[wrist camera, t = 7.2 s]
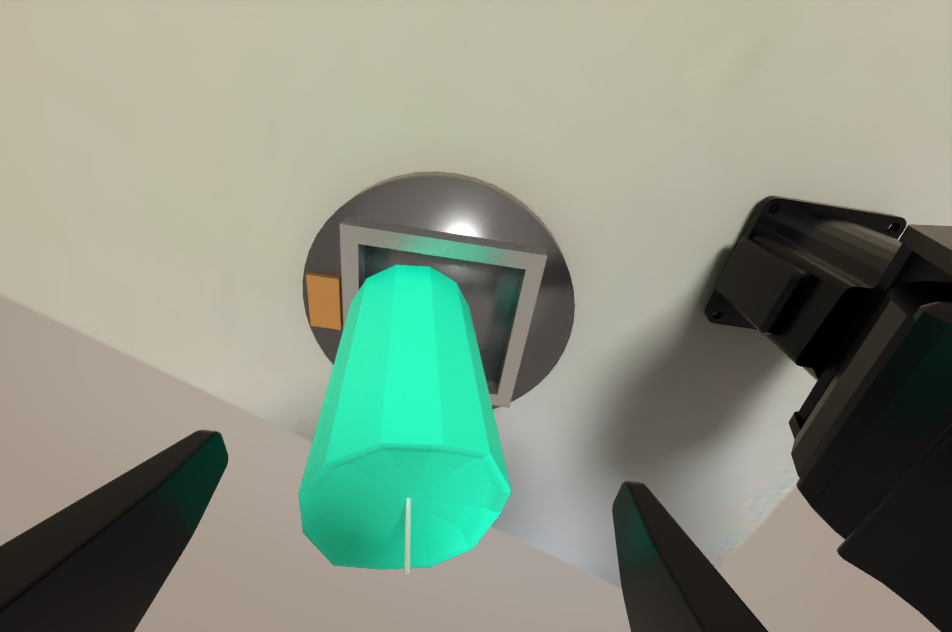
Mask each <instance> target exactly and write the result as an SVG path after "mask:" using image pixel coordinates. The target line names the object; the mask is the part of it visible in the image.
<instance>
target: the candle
mask: <svg viewBox="0 0 952 632" xmlns="http://www.w3.org/2000/svg"><path fill="white" fill-rule="evenodd" d="M511 492H512V491H511V487H510V482H509V478H508V474H507V469H506V465H505V461H504V456H503V452H502V448H501V443H500V439H499V435H498V430H497V426H496V422H495V417H494V413H493V409H492V404H491V400H490V396H489V391H488V387H487V383H486V378H485V374H484V370H483V365H482V361H481V357H480V352H479V348H478V344H477V339H476V335H475V331H474V326H473V322H472V318H471V313H470V309H469V306H468V304H467V302H466V300H465V298H464V296H463V294H462V292H461V290H460V288H459V287H458V285H457V283H456V282H455V281H453V280H451V279H450V278H448V277H446V276H445V275H443V274H441V273H440V272H438V271H436V270H435V269H433V268H431V267H428V266H411V265H395V266H392V267H390V268H388V269H386V270H384V271H381V272H379V273H377V274H375V275H373V276H370V277H368V278H367V279H366V280H365V282H364V283H363V285H362V286H361V288H360V289H359V291H358V292H357V294H356V295H355V297H354V298H353V300H352V301H351V304H350V307H349V311H348V315H347V318H346V322H345V326H344V329H343V333H342V337H341V340H340V344H339V347H338V351H337V355H336V358H335V362H334V366H333V369H332V373H331V377H330V380H329V384H328V388H327V391H326V395H325V399H324V402H323V406H322V410H321V413H320V417H319V421H318V424H317V428H316V432H315V435H314V439H313V443H312V446H311V450H310V454H309V457H308V461H307V465H306V468H305V472H304V475H303V479H302V483H301V487H300V490H299V502H300V511H301V518H302V527H303V533H304V534H305V535H306V536H307V537H308V538H309V540H311V542H312V543H313V544H314V545H315V546H316V547H317V548H318V549H319V550H320V551H321V552H322V554H323V555H324V556H325V557H326V558H327V559H328V560H329V561H330V562H331V563H332V564H333V565H335V566H346V567H358V568H370V569H402V568H403V569H405V574H409V573H410V568H429V567H432V566H434V565H437V564H439V563H441V562H444V561H446V560H448V559H451V558H453V557H455V556H458V555H460V554H462V553H465V552H467V551H469V550H472V549H473V548H474V547H475V546H476V545H477V543H478V542H479V541H480V539H481V538H482V537H483V535H484V534H485V533H486V532H487V530H488V529H489V528H490V526H491V525H492V524H493V523H494V521H495V520H496V519H497V517H498V516H499V515H500V514H501V512H502V510H503V508H504V506H505V504H506V502H507V500H508V498H509V496H510V494H511Z"/></svg>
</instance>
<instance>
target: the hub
mask: <svg viewBox="0 0 952 632" xmlns="http://www.w3.org/2000/svg"><path fill="white" fill-rule="evenodd" d="M395 265H411V266H428V267H431V268H433V269H435V270H436V271H438V272H440V273H441V274H443V275H445V276H446V277H448V278H450V279H451V280H453V281H455V282H456V283H457V285H458V287H459V288H460V290H461V292H462V294H463V296H464V298H465V300H466V302H467V304H468V306H469V309H470V313H471V318H472V322H473V326H474V331H475V335H476V339H477V344H478V348H479V352H480V357H481V361H482V365H483V370H484V374H485V378H486V383H487V387H488V391H489V396H490V400H491V404H492V409H494V408H497V407H500V406H501V407H508V408H509V406H510V402H512V401H514V400H516V399H517V398H519V397H521V396H522V395H524V394H526V393H527V392H529V391H530V390H531V389H533V388H534V387H535V386H537V385H538V384H539V383H540V382H541V381H542V380H543V379H544V378H545V377H546V376H547V375H548V374H549V373H550V371H551V370H552V369H553V368H554V366H555V365H556V364H557V362H558V360H559V359H560V357H561V355H562V354H563V352H564V350H565V347H566V345H567V343H568V340H569V338H570V334H571V330H572V326H573V321H574V309H575V304H574V290H573V285H572V281H571V277H570V273H569V270H568V268H567V265H566V262H565V260H564V257H563V255H562V252H561V249H560V247H559V246H558V244H557V242H556V240H555V239H554V237H553V235H552V233H551V232H550V231H549V229H548V228H547V227H546V226H545V224H544V223H543V222H542V220H541V219H540V218H539V217H538V216H537V215H536V214H535V213H534V212H533V211H532V210H531V209H530V208H528V207H527V206H526V205H525V204H524V203H522V202H521V201H519V200H518V199H517V198H515V197H514V196H513V195H511V194H509V193H508V192H506V191H504V190H502V189H500V188H498V187H496V186H495V185H492V184H490V183H487V182H484V181H482V180H479V179H476V178H473V177H468V176H464V175H460V174H455V173H444V172H419V173H411V174H406V175H401V176H396V177H393V178H390V179H387V180H384V181H382V182H379V183H377V184H375V185H373V186H371V187H369V188H367V189H365V190H363V191H362V192H360V193H359V194H358V195H356V196H355V197H354V198H352V199H351V200H349V201H348V202H347V203H346V204H344V205H343V206H342V207H340V208H339V209H338V210H337V211H336V212H335V213H334V214H333V215H332V216H331V217H330V218H329V219H328V220H327V221H326V223H325V224H324V226H323V227H322V229H321V230H320V231H319V233H318V234H317V236H316V238H315V240H314V242H313V244H312V246H311V248H310V250H309V254H308V257H307V260H306V264H305V268H304V276H303V300H304V305H305V311H306V315H307V318H308V321H309V325H310V327H311V330H312V332H313V334H314V336H315V338H316V340H317V342H318V344H319V345H320V347H321V348H322V350H323V352H324V353H325V355H326V356H327V357H328V358H329V360H330V361H331V362H332V363H333V365H334V362H335V358H336V355H337V351H338V347H339V344H340V340H341V337H342V333H343V329H344V326H345V322H346V318H347V315H348V311H349V307H350V304H351V301H352V300H353V298H354V297H355V295H356V294H357V292H358V291H359V289H360V288H361V286H362V285H363V283H364V282H365V280H366V279H367V278H368V277H370V276H373V275H375V274H377V273H379V272H381V271H384V270H386V269H388V268H390V267H392V266H395Z"/></svg>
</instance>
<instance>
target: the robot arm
mask: <svg viewBox="0 0 952 632" xmlns="http://www.w3.org/2000/svg"><path fill="white" fill-rule="evenodd" d="M773 204H775V208H774V209H773V210H772V211H771V212H768V209H769V207H770V206H771V205H773ZM891 224H892V226H891V227H890V228H889V229H888V230H887V228H888V227H889V226H890V225H891ZM905 227H906V220H905V219H903V218H901V217H898V216H895V215H891V214H885V213H879V212H872V211H866V210H860V209H854V208H848V207H841V206H835V205H829V204H823V203H817V202H810V201H804V200H798V199H792V198H786V197H779V196H769V197H766V198H765V199H763V200H762V201H761V202H760V204H759V205H758V207H757V209H756V211H755V213H754V215H753V217H752V219H751V220H750V222H749V224H748V226H747V228H746V230H745V232H744V234H743V236H742V238H741V240H740V241H739V242H738V243H737V245H736V247H735V249H734V251H733V253H732V255H731V257H730V259H729V260H728V262H727V264H726V266H725V268H724V270H723V272H722V274H721V276H720V278H719V280H718V282H717V284H716V289H715V291H714V293H713V295H712V297H711V299H710V301H709V302H708V304H707V306H706V308H705V311H704V315H705V317H706V318H707V319H708V320H709V321H710V322H712V323H717V324H724V325H730V326H737V327H744V328H750V329H757V330H758V331H759V332H761V333H763V334H765V335H766V336H767V337H768V338H769V339H770V340H771V341H772V342H773V343H774V344H775V345H776V346H777V347H778V348H780V349H781V350H782V351H783V352H784V353H785V354H786V355H787V356H788V357H789V358H790V359H791V360H792V361H793V362H794V363H795V364H796V365H798V366H802V367H803V368H804V369H805V370H806V371H807V372H808V373H809V374H810V375H811V376H813V377H814V378H815V379H816V380H817V383H816V384H815V386H814V387H813V389H812V391H811V392H810V394H809V396H808V397H807V399H806V400H805V402H804V404H803V405H802V407H801V409H800V410H799V412H795V413H794V414H793V416H792V417H791V419H790V421H789V425H790V428H791V431H792V433H793V436H794V439H795V441H794V445H793V448H792V452H791V455H792V458H793V461H794V464H795V468H796V471H797V474H798V476H799V478H800V479H799V480H798V482H797V484H796V485H797V488H798V489H799V491H800V492H801V493H802V495H803V496H804V497H805V499H806V500H807V502H808V503H809V504H810V506H811V507H812V508H813V509H814V510H815V512H816V513H817V514H818V515H819V516H820V517H821V518H822V519H823V520H824V521H825V522H826V523H827V524H828V525H829V526H830V527H831V528H832V529H833V530H834V531H835V532H836V533H838V534H839V535H840V536H841V537H843V538H844V539H845V541H844V542H843V543H842V544H841V545H840V546H839V548H838V549H837V552H838V554H839V555H840V556H841V557H842V558H843V559H845V560H846V561H848V562H849V563H851V564H853V565H854V566H856V567H858V568H859V569H861V570H862V571H864V572H865V573H867V574H869V575H871V576H872V577H874V578H875V579H877V580H879V581H880V582H882V583H883V584H884V585H886V586H887V587H888V588H890V589H891V590H892V591H893V592H895V593H896V594H897V595H899V596H900V597H901V598H903V599H904V600H905V601H906V602H908V603H909V604H910V605H911V606H913V607H914V608H915V609H916V610H918V611H919V612H920V613H921V614H922V615H924V616H925V617H926V618H927V619H928V620H929V621H930V622H931V623H932V624H933V625H934V626H935V627H936V628H938V629H939V630H940V631H941V632H952V226H933V225H908V227H907V228H906V230H905V231H904V229H905ZM903 231H904V233H903V235H902V236H901V238H900V240H897V239H898V238H899V236H900V235H901V233H902V232H903ZM716 311H719V312H718V313H717V314H716V315H713V313H714V312H716ZM227 463H228V453H227V450H226V447H225V444H224V440H223V437H222V435H221V433H219V432H217V431H210V430H199V431H196V432H194V433H192V434H191V435H189V436H187V437H186V438H184V439H182V440H181V441H179V442H177V443H176V444H174V445H172V446H170V447H169V448H167V449H165V450H163V451H162V452H160V453H158V454H157V455H155V456H153V457H152V458H150V459H148V460H146V461H145V462H143V463H141V464H140V465H138V466H136V467H135V468H133V469H131V470H130V471H128V472H126V473H124V474H123V475H121V476H119V477H117V478H116V479H114V480H112V481H110V482H109V483H107V484H106V485H104V486H102V487H100V488H99V489H97V490H95V491H94V492H92V493H90V494H88V495H87V496H85V497H84V498H81V499H80V500H78V501H76V502H75V503H73V504H71V505H70V506H68V507H66V508H64V509H63V510H61V511H59V512H58V513H56V514H54V515H53V516H51V517H49V518H47V519H46V520H44V521H42V522H41V523H39V524H37V525H35V526H34V527H32V528H31V529H29V530H27V531H25V532H23V533H22V534H20V535H18V536H17V537H15V538H13V539H12V540H10V541H8V542H6V543H5V544H3V545H2V546H0V632H134V631H135V629H136V627H137V626H138V624H139V623H140V621H141V619H142V618H143V616H144V615H145V613H146V611H147V610H148V608H149V606H150V605H151V603H152V602H153V600H154V598H155V597H156V595H157V593H158V592H159V590H160V588H161V587H162V585H163V584H164V582H165V580H166V578H167V577H168V575H169V574H170V572H171V570H172V568H173V567H174V565H175V564H176V562H177V561H178V559H179V557H180V556H181V554H182V552H183V551H184V549H185V548H186V546H187V544H188V542H189V541H190V539H191V537H192V535H193V534H194V532H195V530H196V528H197V526H198V524H199V522H200V520H201V518H202V516H203V514H204V512H205V510H206V508H207V506H208V503H209V502H210V499H211V497H212V495H213V493H214V491H215V489H216V487H217V485H218V483H219V481H220V478H221V477H222V475H223V473H224V471H225V469H226V467H227ZM612 513H613V522H614V530H615V538H616V547H617V555H618V563H619V572H620V579H621V586H622V591H623V596H624V601H625V606H626V610H627V615H628V619H629V624H630V628H631V632H768V631H767V630H766V628H765V627H764V626H763V625H762V624H761V622H760V621H759V620H758V619H757V618H756V617H755V615H754V614H753V613H752V612H751V611H750V609H749V608H748V607H747V606H746V605H745V603H744V602H743V601H742V600H741V599H740V597H738V595H737V594H736V593H735V591H734V590H733V589H732V588H731V587H730V586H729V584H728V583H727V582H726V581H725V579H724V578H723V577H722V576H721V575H720V574H719V572H718V571H717V570H716V569H715V568H714V566H713V565H712V564H711V563H710V562H709V560H708V559H707V558H706V557H705V556H704V554H703V553H702V552H701V551H700V550H699V548H698V547H697V546H696V545H695V544H694V543H693V541H692V540H691V539H690V538H689V537H688V535H687V534H686V533H685V532H684V531H683V529H682V528H681V527H680V526H679V525H678V523H677V522H676V521H675V520H674V519H673V517H672V516H671V515H670V514H669V513H668V512H667V510H666V509H665V508H664V507H663V506H662V504H661V503H660V502H659V501H658V500H657V498H656V497H655V496H654V495H653V494H652V492H651V491H650V490H649V489H648V488H647V487H646V486H645V485H644V484H643V483H640V482H632V481H625V482H624V483H623V484H622V485H621V488H620V490H619V492H618V494H617V496H616V498H615V500H614V503H613V509H612Z"/></svg>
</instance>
